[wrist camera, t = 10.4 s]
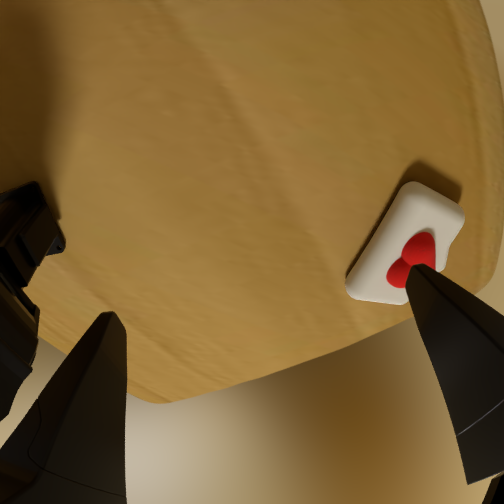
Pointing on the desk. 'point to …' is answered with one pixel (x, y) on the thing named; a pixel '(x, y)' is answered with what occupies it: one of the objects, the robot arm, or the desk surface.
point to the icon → (405, 244)
